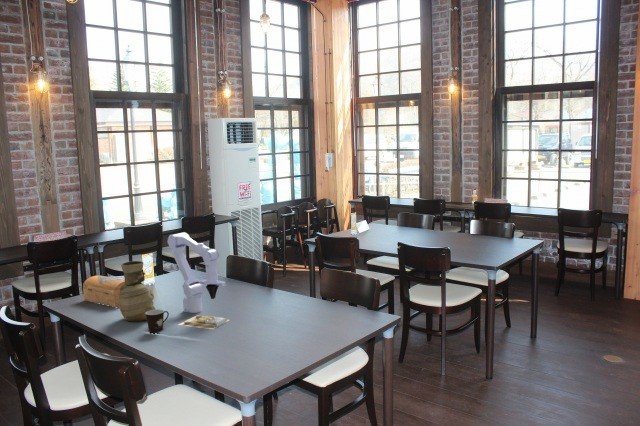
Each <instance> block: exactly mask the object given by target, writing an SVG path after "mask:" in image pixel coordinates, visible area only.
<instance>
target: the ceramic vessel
mask: <svg viewBox="0 0 640 426" xmlns="http://www.w3.org/2000/svg"><path fill="white" fill-rule="evenodd" d="M120 266H121V267H120V268H121V270H122V273H123V276H124V278H123V280H125V283H124V284H123V285H122V286H121V288H120V293H119V307H118V308H119V311H120V313H121V315H122V317H123V318H124V319H125V320H126V321H127V322H130V321H131V322H132V323H133V322H136V321H137V322H144V320H145V321H147V319H146V314H145V313H146V312H147V311H150V310H156V307H155V305H154V301H153V300H154V299H155V296H154V293H153V290H152V289H151V288H149V287H147V286H146V285H145V284H144V283H143V282H144V281H146V279H145V275H146V272H144V271H143V267H144V261H141V260H133V261H132V260H131V261H126V262H123V263H121V265H120ZM131 322H130V323H131Z"/></svg>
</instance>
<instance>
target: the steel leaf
mask: <svg viewBox="0 0 640 426" xmlns="http://www.w3.org/2000/svg"><path fill="white" fill-rule="evenodd" d="M212 318H213V320H211V321H209V320H206V321H204V324H212V325H216V327H217V328H218V327H220V326H222V325H223V323H224V324H225V323H226V322H225V319H226V317H218V316H212ZM221 324H222V325H221ZM219 325H220V326H219Z"/></svg>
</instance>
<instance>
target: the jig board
mask: <svg viewBox="0 0 640 426" xmlns="http://www.w3.org/2000/svg"><path fill="white" fill-rule="evenodd" d="M203 316H204V315H199V314H197V315H195V316H192V317H191V318H189V319H186V320H185V321H183V322H180V323H178V324H177V326H182V327H191V328H199V329H207V330H215V329H216V328H218V327H220V326H222V325H223V324H225V323H227V322H229V321H230V319H227V318H225V323H223V324H221V325H219V326H218V327H216V325H212V324H204V323H196V322H195V320H197V319H199V318H201V317H203Z"/></svg>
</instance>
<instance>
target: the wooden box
mask: <svg viewBox="0 0 640 426" xmlns="http://www.w3.org/2000/svg"><path fill="white" fill-rule="evenodd" d="M124 283H125V279H121V278H118V277H113V276H104V275H99V274H98V275H94V276H90V277H88V278H87V279H85V280H84V282H83V284H82V292H83V300H85V302H87V301H90V302H89V303H92V302H96V303H100V304H104V305H109V306H113V307H118V306H119V293H120V288H121V286H122V285H123V284H124ZM96 303H95V304H96ZM100 304H99V305H100ZM104 305H103V306H104ZM109 306H108V307H109ZM113 307H112V308H113ZM118 308H119V307H118Z"/></svg>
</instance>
